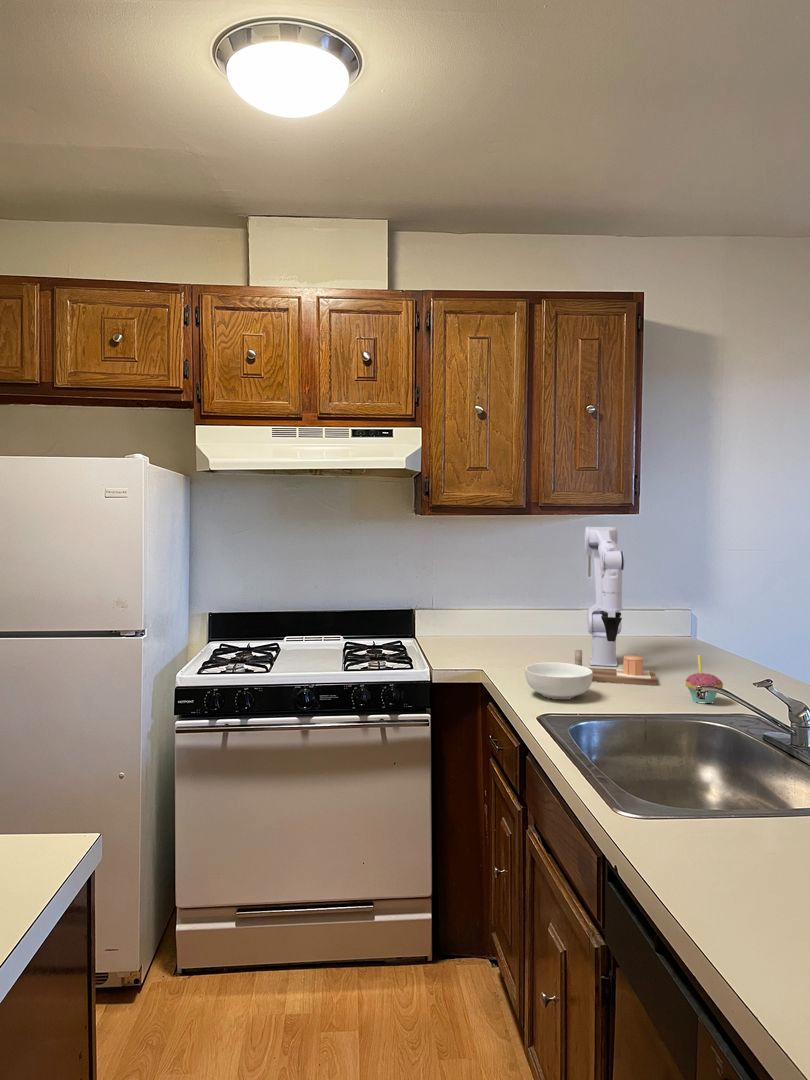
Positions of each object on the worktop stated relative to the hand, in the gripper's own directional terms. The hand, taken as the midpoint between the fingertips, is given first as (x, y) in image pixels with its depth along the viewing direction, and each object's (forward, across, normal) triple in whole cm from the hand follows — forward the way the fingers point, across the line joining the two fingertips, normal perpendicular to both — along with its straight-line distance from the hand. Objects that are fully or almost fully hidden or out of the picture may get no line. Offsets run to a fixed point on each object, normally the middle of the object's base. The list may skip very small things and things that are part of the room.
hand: (611, 639), depth 207 cm
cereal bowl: (+11, +28, -13) cm, 33 cm away
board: (+10, +5, -2) cm, 12 cm away
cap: (+9, +5, +6) cm, 11 cm away
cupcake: (+11, +25, +22) cm, 35 cm away
